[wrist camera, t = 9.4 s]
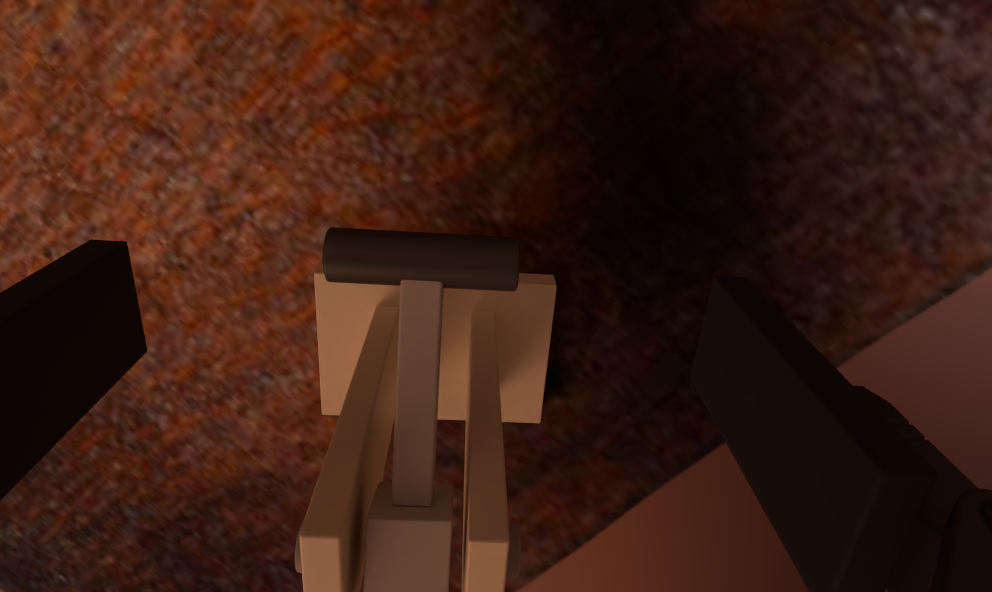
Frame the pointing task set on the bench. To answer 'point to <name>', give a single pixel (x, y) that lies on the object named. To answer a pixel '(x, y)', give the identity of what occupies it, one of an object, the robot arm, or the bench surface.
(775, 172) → the bench surface
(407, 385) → the lever
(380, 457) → the bracket
